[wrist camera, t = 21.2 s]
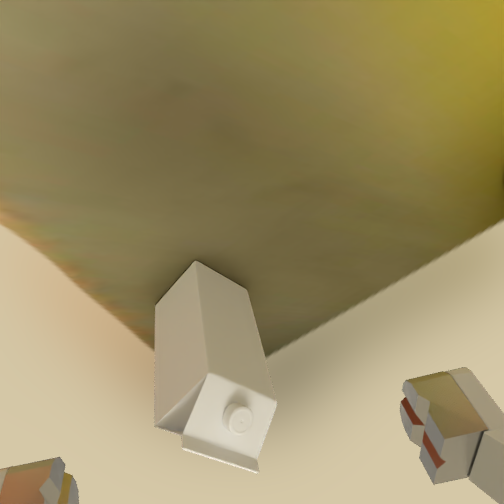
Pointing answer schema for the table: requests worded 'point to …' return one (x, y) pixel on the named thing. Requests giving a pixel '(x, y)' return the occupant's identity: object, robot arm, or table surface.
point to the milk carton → (212, 369)
